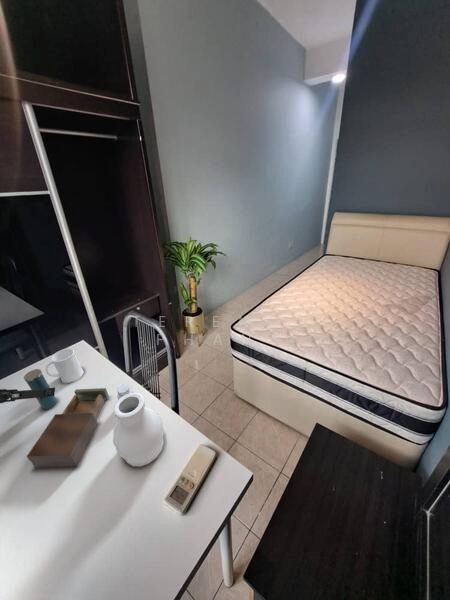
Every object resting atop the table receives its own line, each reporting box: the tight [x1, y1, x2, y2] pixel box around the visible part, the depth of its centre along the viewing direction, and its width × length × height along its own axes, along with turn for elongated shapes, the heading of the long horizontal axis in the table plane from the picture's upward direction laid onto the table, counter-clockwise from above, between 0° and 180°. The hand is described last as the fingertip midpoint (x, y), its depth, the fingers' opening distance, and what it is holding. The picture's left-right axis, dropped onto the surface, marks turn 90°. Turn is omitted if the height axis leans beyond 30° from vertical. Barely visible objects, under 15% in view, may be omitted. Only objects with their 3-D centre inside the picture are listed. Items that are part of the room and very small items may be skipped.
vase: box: [112, 392, 165, 467], centre depth 73 cm, size 14×14×20 cm
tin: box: [23, 368, 58, 411], centre depth 90 cm, size 5×5×16 cm
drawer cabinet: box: [26, 413, 99, 469], centre depth 77 cm, size 14×13×7 cm
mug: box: [45, 348, 84, 384], centre depth 103 cm, size 12×8×12 cm
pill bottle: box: [116, 383, 134, 401], centre depth 89 cm, size 5×5×9 cm
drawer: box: [61, 387, 110, 420], centre depth 88 cm, size 14×11×5 cm
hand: (34, 392), depth 87 cm, fingers open, 13 cm apart
